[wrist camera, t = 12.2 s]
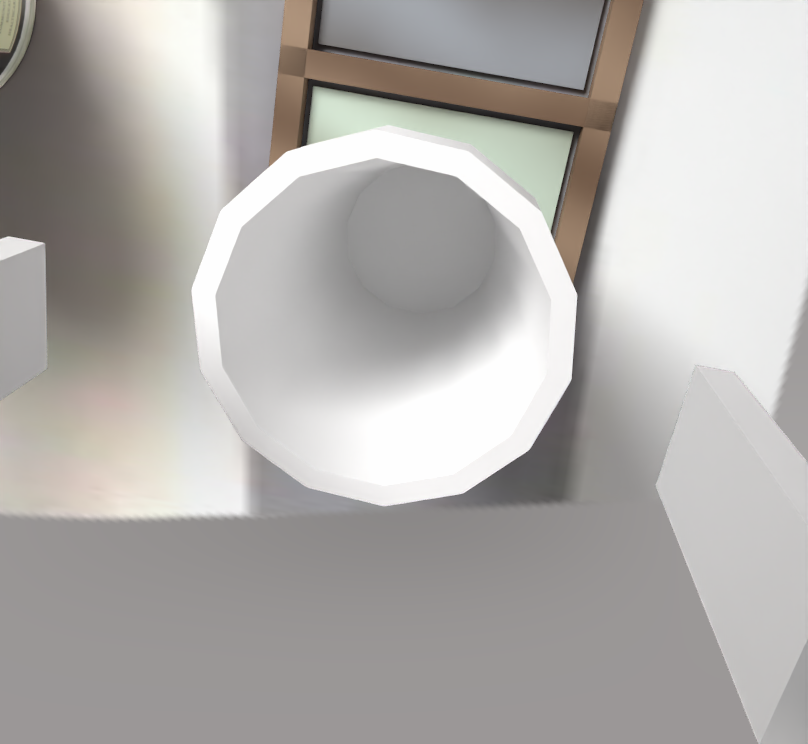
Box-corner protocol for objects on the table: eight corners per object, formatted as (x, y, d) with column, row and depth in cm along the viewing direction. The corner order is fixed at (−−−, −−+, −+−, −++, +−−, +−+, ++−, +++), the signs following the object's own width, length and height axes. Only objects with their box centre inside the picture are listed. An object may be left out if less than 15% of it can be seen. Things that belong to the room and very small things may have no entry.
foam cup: (471, 385, 33) (463, 559, 21) (273, 290, 32) (145, 413, 20) (584, 179, 29) (653, 243, 17) (365, 69, 29) (278, 56, 17)
